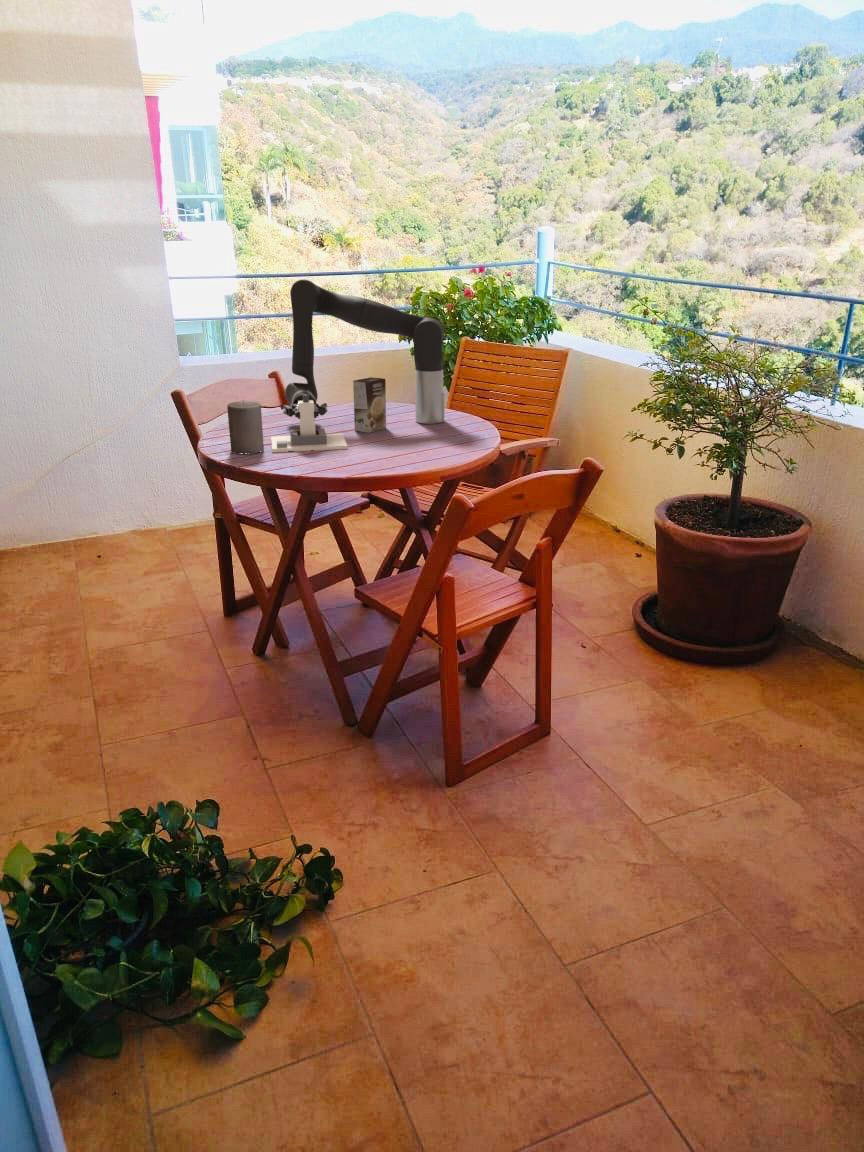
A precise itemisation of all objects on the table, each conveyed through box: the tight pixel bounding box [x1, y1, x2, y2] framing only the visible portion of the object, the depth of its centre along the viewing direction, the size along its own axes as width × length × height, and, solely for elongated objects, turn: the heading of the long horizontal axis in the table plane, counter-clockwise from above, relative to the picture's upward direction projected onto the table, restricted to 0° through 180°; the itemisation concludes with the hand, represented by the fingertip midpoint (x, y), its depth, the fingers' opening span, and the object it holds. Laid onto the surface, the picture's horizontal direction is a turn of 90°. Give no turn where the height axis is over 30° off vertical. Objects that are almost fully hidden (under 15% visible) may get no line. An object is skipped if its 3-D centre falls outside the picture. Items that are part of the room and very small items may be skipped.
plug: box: [298, 394, 316, 435], centre depth 249 cm, size 4×4×13 cm
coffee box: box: [352, 376, 387, 434], centre depth 268 cm, size 9×6×16 cm
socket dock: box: [270, 427, 348, 453], centre depth 252 cm, size 22×16×4 cm
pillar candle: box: [226, 399, 265, 455], centre depth 243 cm, size 10×10×15 cm
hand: (307, 414), depth 247 cm, fingers closed on plug, 4 cm apart
